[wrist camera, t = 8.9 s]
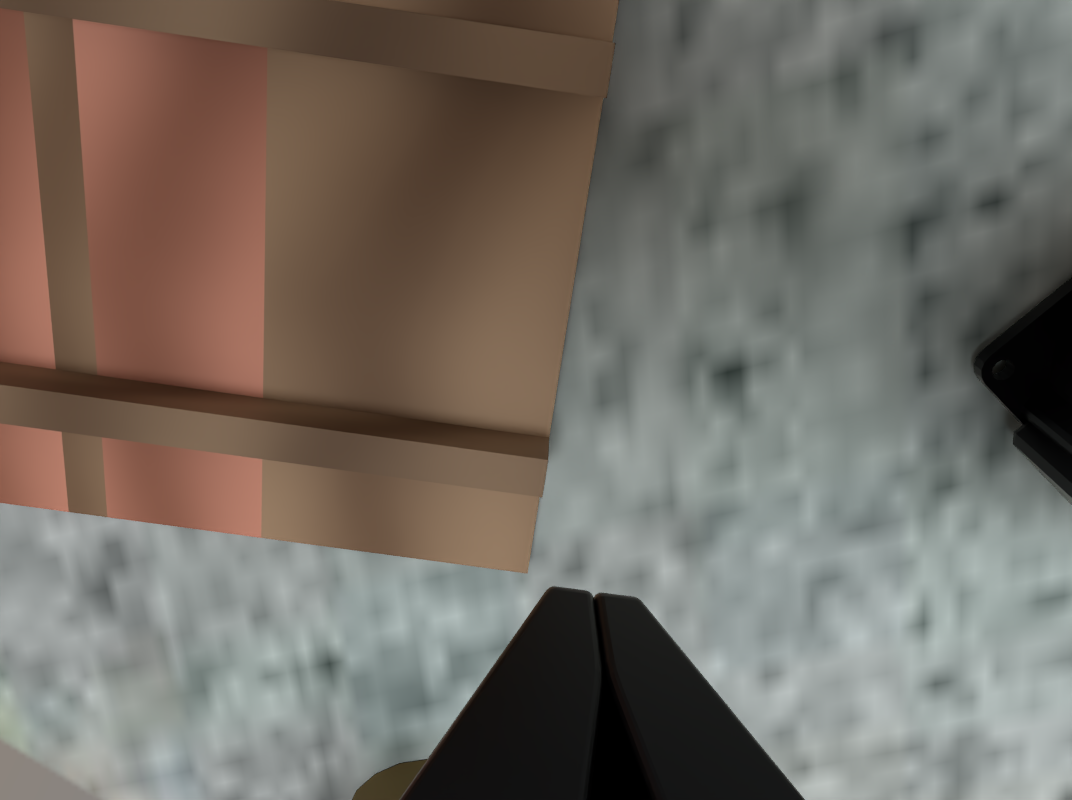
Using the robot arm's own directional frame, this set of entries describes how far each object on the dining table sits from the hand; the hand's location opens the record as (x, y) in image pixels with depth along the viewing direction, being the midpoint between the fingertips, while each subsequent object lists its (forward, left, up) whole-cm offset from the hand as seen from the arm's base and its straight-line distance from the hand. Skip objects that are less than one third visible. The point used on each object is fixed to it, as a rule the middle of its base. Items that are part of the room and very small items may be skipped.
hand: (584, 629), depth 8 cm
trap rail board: (+6, -9, -13) cm, 17 cm away
